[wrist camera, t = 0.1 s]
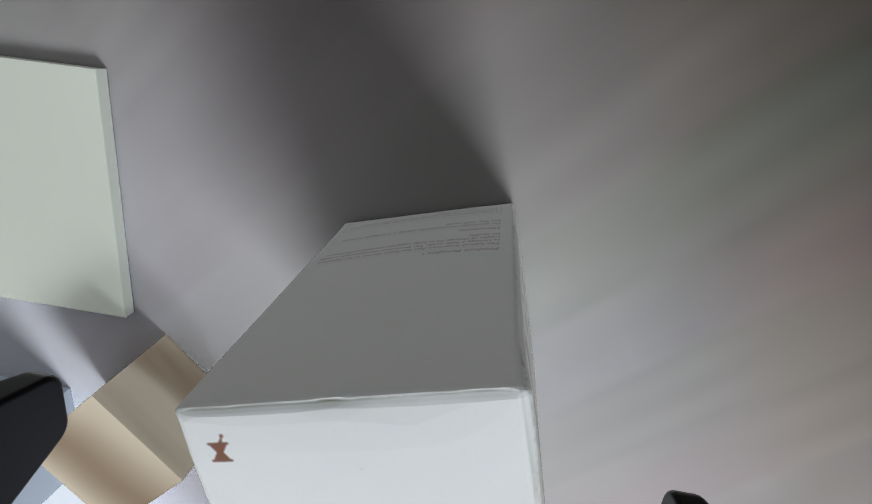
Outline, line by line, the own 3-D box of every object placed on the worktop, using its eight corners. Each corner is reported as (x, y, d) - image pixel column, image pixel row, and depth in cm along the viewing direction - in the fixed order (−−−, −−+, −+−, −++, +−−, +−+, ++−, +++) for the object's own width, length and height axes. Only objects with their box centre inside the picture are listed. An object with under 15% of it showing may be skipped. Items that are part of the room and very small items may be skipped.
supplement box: (375, 370, 25) (254, 657, 13) (342, 218, 22) (157, 405, 11) (537, 361, 24) (561, 670, 12) (520, 198, 21) (531, 386, 9)
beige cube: (167, 333, 26) (91, 395, 21) (239, 405, 27) (182, 480, 22) (104, 384, 27) (21, 453, 23) (174, 451, 28) (109, 529, 24)
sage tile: (134, 311, 25) (125, 317, 25) (-76, 277, 26) (-89, 282, 26) (106, 68, 21) (95, 69, 21) (-140, 38, 22) (-157, 37, 22)
